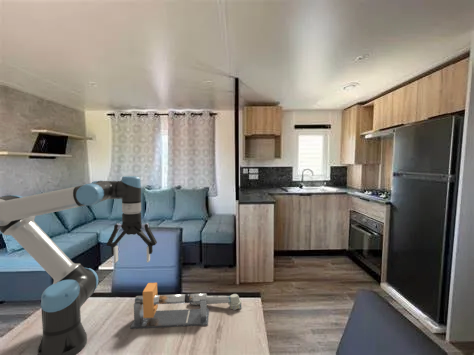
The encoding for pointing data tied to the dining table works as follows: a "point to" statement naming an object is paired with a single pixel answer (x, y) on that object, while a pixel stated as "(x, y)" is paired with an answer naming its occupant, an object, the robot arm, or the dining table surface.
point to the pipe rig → (172, 312)
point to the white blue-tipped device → (224, 301)
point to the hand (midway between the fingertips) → (132, 261)
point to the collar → (149, 300)
